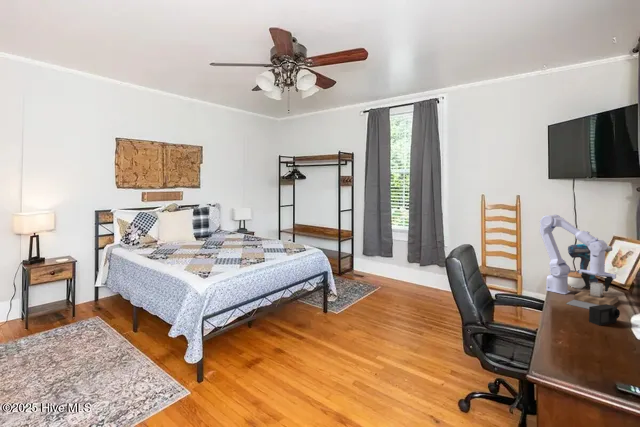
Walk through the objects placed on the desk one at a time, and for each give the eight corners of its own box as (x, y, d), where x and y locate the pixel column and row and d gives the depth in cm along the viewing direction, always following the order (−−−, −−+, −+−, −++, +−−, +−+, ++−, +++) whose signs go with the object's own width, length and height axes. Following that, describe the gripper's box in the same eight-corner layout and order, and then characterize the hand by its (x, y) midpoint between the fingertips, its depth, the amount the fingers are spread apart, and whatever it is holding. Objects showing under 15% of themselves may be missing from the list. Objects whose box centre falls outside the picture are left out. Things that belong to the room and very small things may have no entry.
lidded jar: (592, 289, 184) (593, 273, 183) (573, 289, 184) (574, 273, 183) (578, 284, 194) (578, 269, 194) (560, 284, 195) (560, 269, 194)
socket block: (574, 299, 168) (574, 294, 167) (584, 294, 175) (584, 289, 175) (609, 306, 156) (609, 301, 156) (618, 301, 164) (618, 296, 164)
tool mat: (565, 303, 161) (565, 303, 161) (573, 299, 167) (573, 299, 167) (601, 312, 150) (601, 311, 150) (608, 307, 155) (608, 307, 155)
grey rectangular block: (590, 300, 166) (590, 283, 166) (592, 298, 168) (593, 281, 168) (599, 302, 163) (600, 284, 162) (602, 300, 165) (603, 283, 165)
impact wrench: (614, 286, 189) (616, 244, 188) (571, 284, 194) (572, 244, 192) (605, 282, 197) (606, 242, 195) (564, 281, 201) (565, 242, 200)
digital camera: (602, 326, 134) (603, 310, 133) (588, 322, 139) (589, 306, 138) (620, 323, 136) (620, 307, 136) (605, 319, 142) (606, 303, 141)
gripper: (577, 262, 168) (576, 287, 169) (613, 267, 156) (612, 294, 157) (582, 260, 172) (581, 285, 173) (617, 265, 160) (617, 291, 161)
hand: (596, 289), depth 165 cm, fingers open, 7 cm apart
